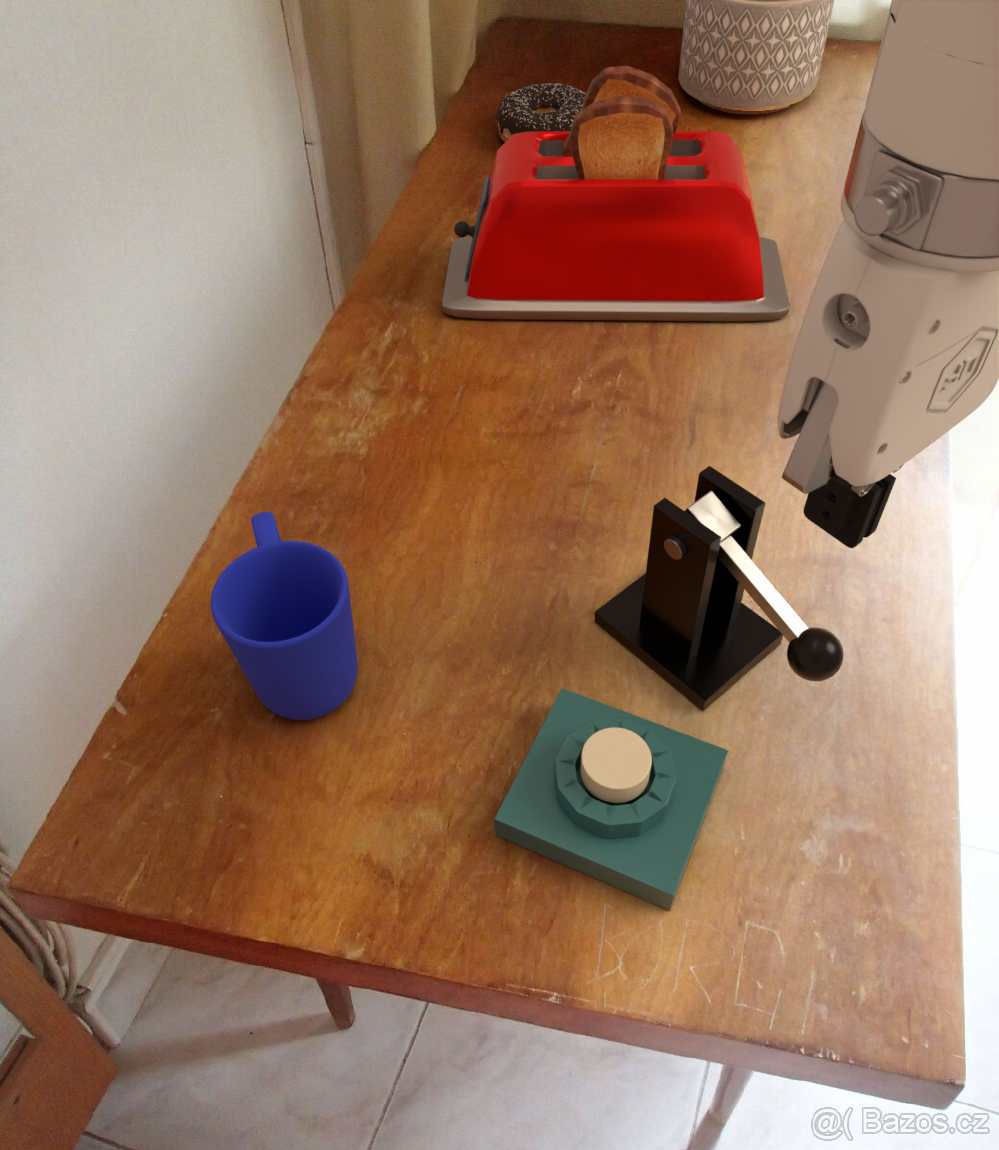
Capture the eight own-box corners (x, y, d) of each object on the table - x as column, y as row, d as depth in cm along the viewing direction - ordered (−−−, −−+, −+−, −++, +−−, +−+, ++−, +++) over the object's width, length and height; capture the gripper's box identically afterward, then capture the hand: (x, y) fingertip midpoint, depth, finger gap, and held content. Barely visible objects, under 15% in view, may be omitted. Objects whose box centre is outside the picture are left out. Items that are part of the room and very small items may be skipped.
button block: (723, 767, 62) (733, 734, 58) (670, 911, 56) (677, 882, 53) (561, 705, 65) (562, 671, 62) (495, 835, 59) (492, 804, 56)
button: (659, 757, 58) (661, 741, 57) (634, 814, 56) (637, 799, 54) (595, 732, 59) (597, 717, 58) (569, 787, 57) (570, 772, 56)
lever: (834, 667, 60) (864, 653, 57) (801, 697, 59) (830, 684, 56) (697, 504, 62) (720, 482, 59) (662, 530, 61) (684, 509, 58)
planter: (816, 65, 124) (839, -49, 114) (812, 127, 114) (837, 7, 104) (685, 57, 127) (696, -55, 117) (669, 116, 117) (680, -1, 107)
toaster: (441, 321, 92) (421, 121, 78) (453, 245, 100) (438, 51, 86) (789, 324, 90) (835, 119, 76) (773, 246, 98) (812, 48, 84)
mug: (343, 582, 72) (319, 484, 65) (383, 715, 65) (361, 623, 57) (231, 612, 71) (193, 516, 63) (259, 751, 63) (219, 662, 56)
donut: (477, 132, 116) (475, 98, 113) (556, 102, 120) (556, 68, 117) (536, 168, 110) (535, 133, 107) (616, 135, 114) (618, 100, 111)
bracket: (780, 643, 67) (821, 514, 58) (702, 711, 64) (731, 587, 54) (671, 562, 72) (691, 431, 63) (593, 621, 69) (601, 493, 59)
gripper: (919, 308, 30) (797, 651, 45) (1169, 145, 36) (991, 495, 50) (735, 210, 34) (677, 556, 48) (988, 77, 40) (870, 421, 54)
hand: (837, 524), depth 49 cm, fingers closed
